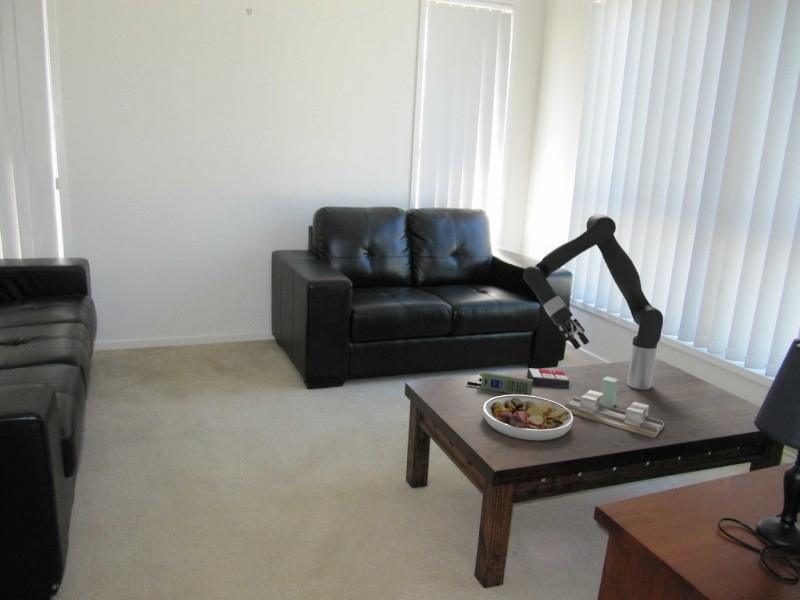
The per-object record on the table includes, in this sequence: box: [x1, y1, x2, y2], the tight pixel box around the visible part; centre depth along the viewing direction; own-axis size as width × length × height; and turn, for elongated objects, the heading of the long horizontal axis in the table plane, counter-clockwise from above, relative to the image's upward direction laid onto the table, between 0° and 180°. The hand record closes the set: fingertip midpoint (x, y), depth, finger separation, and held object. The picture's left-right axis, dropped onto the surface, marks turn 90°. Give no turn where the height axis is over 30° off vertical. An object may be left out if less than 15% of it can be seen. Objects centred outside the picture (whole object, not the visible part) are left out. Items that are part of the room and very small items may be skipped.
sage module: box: [600, 375, 619, 407], centre depth 234 cm, size 4×4×10 cm
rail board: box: [564, 389, 665, 439], centre depth 222 cm, size 12×32×7 cm, turn 53°
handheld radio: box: [466, 371, 533, 396], centre depth 244 cm, size 7×3×25 cm
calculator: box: [526, 367, 570, 388], centre depth 256 cm, size 11×4×15 cm
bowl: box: [482, 394, 574, 441], centre depth 214 cm, size 30×30×8 cm
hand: (582, 345), depth 238 cm, fingers open, 8 cm apart
